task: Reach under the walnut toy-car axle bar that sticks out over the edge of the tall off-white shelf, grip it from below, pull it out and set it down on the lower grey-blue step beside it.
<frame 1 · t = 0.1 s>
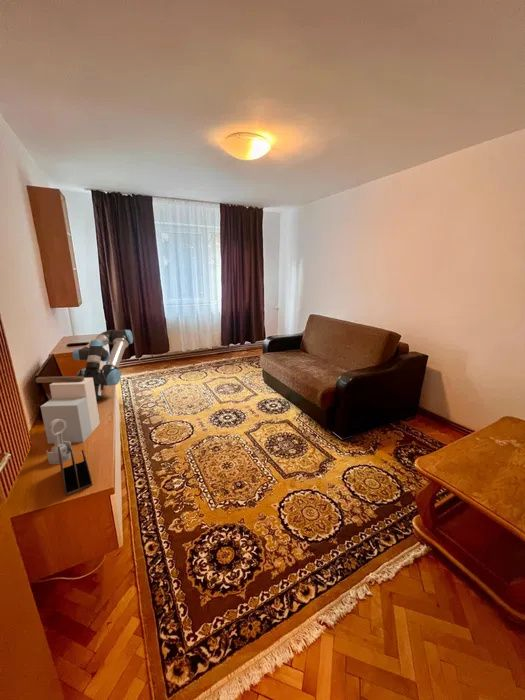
hand: (87, 395, 177), 15 cm above the table, tool tilted 35°, fingers open, 13 cm apart
walnut axle bar: (60, 381, 160), point 30 cm above the table, touching stepped parts shelf
engine component: (61, 457, 142), on the table
letter holder: (76, 478, 128), on the table
stepped parts shelf: (75, 432, 163), on the table
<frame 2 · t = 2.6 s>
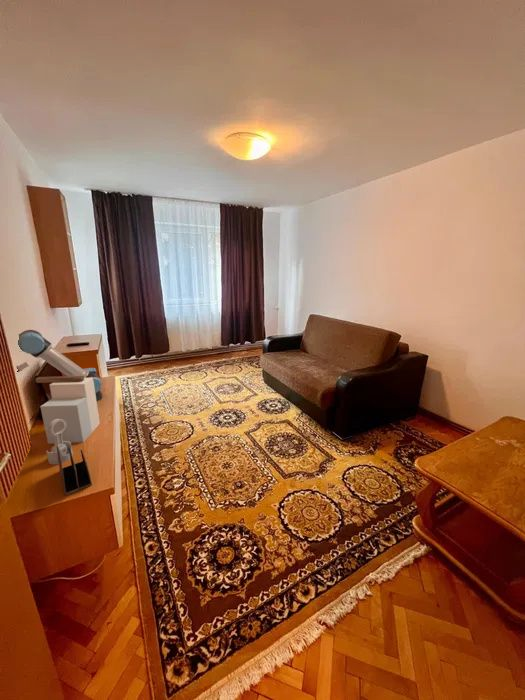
hand: (19, 367, 155), 39 cm above the table, tool pointing upward, fingers open, 13 cm apart
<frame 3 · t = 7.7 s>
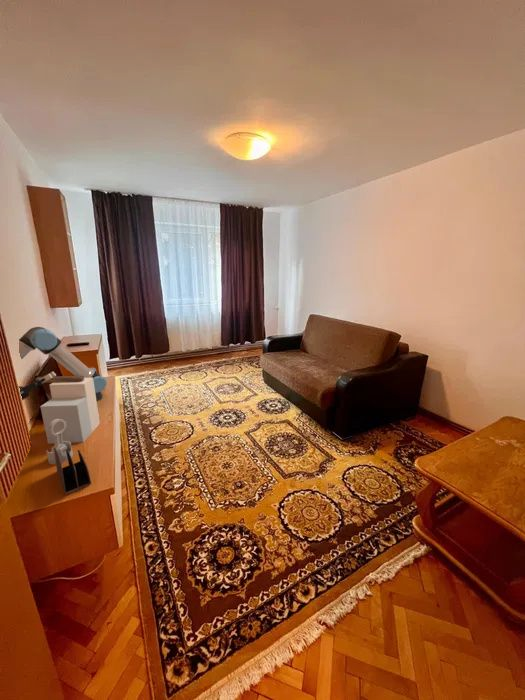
hand: (52, 374, 158), 34 cm above the table, tool pointing upward, fingers closed on walnut axle bar, 3 cm apart
walnut axle bar: (60, 381, 160), point 30 cm above the table, touching gripper
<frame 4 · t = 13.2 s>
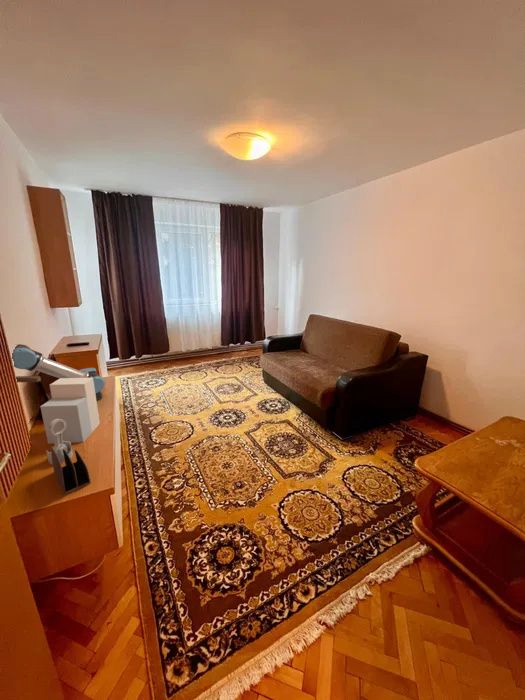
hand: (4, 374, 146), 38 cm above the table, tool pointing upward, fingers closed on walnut axle bar, 3 cm apart
walnut axle bar: (14, 381, 147), point 34 cm above the table, touching gripper
when the fingers open (28 cm above the table, at t = 19.1 s): walnut axle bar drops 2 cm, resting on stepped parts shelf.
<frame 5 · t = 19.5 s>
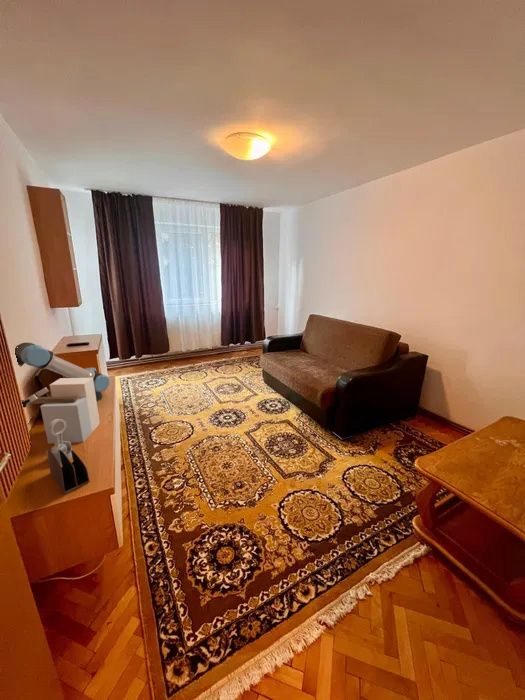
hand: (41, 392, 150), 27 cm above the table, tool pointing upward, fingers open, 9 cm apart
walnut axle bar: (52, 402, 152), point 22 cm above the table, touching stepped parts shelf
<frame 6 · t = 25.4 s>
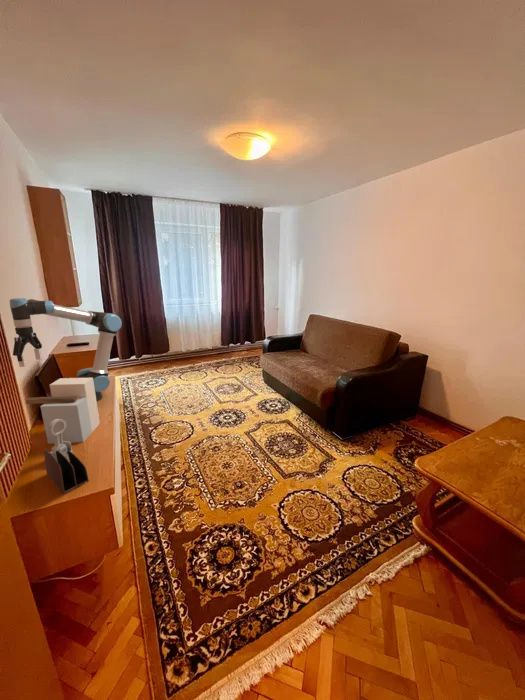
hand: (31, 362, 163), 39 cm above the table, tool pointing down, fingers open, 13 cm apart
at the end: walnut axle bar inside the target area (0.1 cm from its centre), point 22.0 cm above the table; walnut axle bar tilted 0°; the gripper is holding nothing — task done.
